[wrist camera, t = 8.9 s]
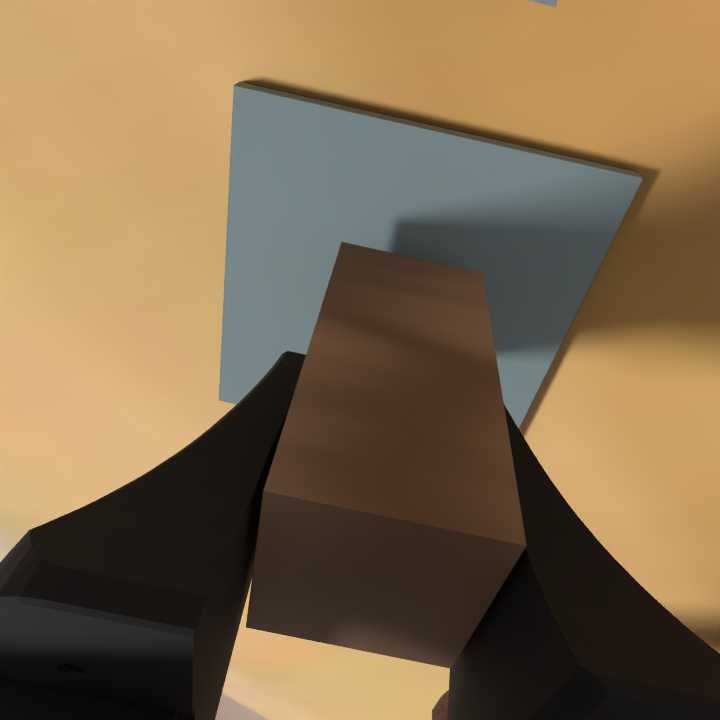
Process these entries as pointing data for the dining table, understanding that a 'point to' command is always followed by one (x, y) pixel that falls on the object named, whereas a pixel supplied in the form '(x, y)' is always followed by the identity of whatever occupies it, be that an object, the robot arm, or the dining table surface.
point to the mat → (404, 227)
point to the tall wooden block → (391, 468)
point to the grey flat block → (546, 2)
